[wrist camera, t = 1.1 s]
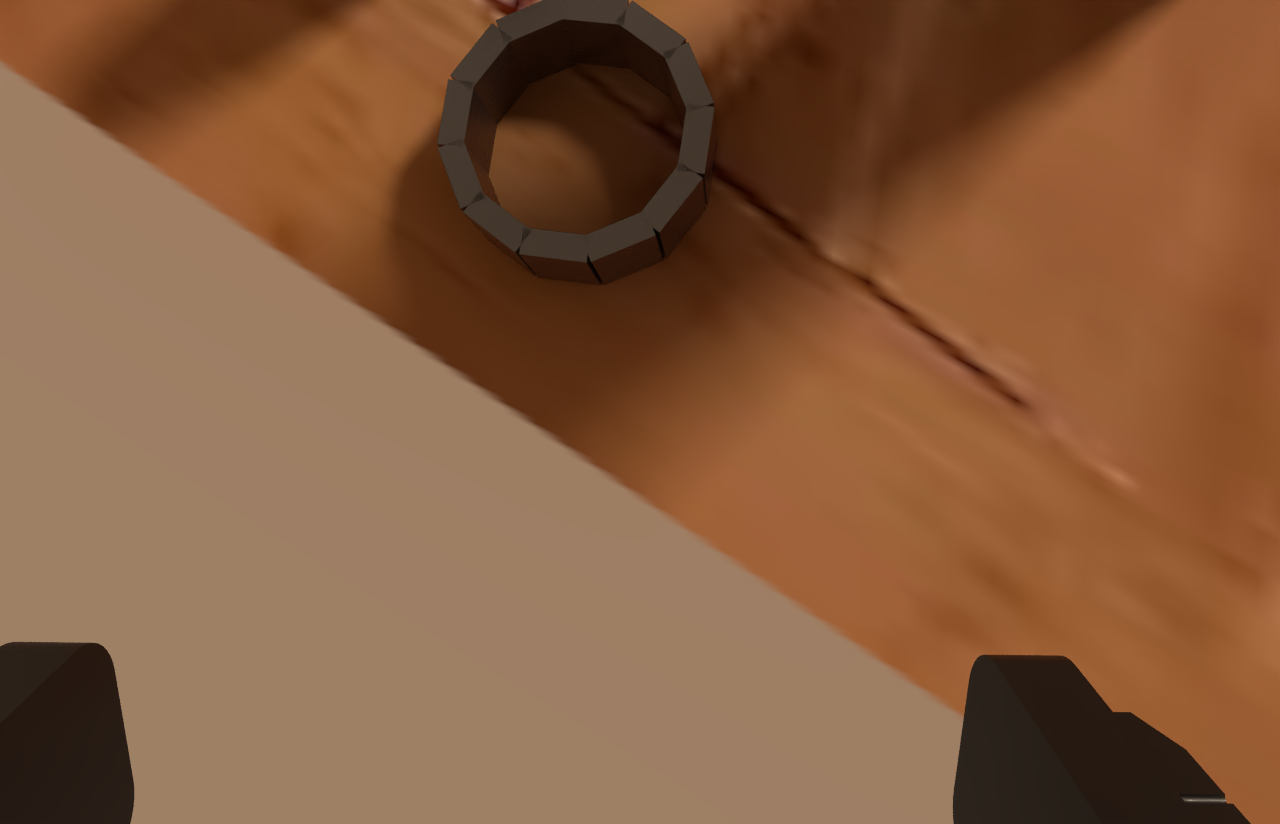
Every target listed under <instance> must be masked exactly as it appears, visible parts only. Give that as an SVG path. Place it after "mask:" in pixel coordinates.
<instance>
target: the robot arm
mask: <svg viewBox="0 0 1280 824" xmlns="http://www.w3.org/2000/svg"><path fill="white" fill-rule="evenodd" d="M133 804H134V782H133V776H132V770H131V764H130V758H129V752H128V746H127V740H126V734H125V729H124V722H123V717H122V711H121V705H120V699H119V693H118V687H117V681H116V676H115V670H114V665H113V662H112V659H111V657H110V655H109V653H108V651H107V650H106V649H105V648H104V647H103V646H102V645H100V644H97V643H60V642H59V643H58V642H56V643H55V642H11V643H7V644H5V645H2V646H0V824H130V822H131V818H132V812H133V806H134V805H133ZM953 820H954V824H1250V823H1249V821H1248V820H1247V819H1246V818H1245V817H1244V816H1243V815H1242V813H1241V812H1240V811H1239V810H1238V809H1237V808H1236V807H1235V805H1234V804H1227V803H1226V801H1225V794H1224V793H1223V792H1222V790H1221V789H1220V788H1219V787H1218V786H1217V785H1216V784H1215V782H1214V781H1213V780H1212V779H1211V778H1210V777H1209V776H1208V774H1207V773H1206V772H1205V771H1204V770H1203V769H1202V768H1201V766H1200V765H1199V764H1198V763H1197V762H1196V761H1195V760H1194V758H1193V757H1192V756H1191V755H1190V754H1189V753H1188V752H1187V750H1186V749H1184V748H1183V747H1181V746H1180V745H1178V744H1177V743H1175V742H1174V741H1172V740H1171V739H1169V738H1168V737H1166V736H1165V735H1163V734H1162V733H1160V732H1159V731H1157V730H1156V729H1154V728H1153V727H1151V726H1150V725H1148V724H1147V723H1145V722H1144V721H1143V720H1141V719H1140V718H1138V717H1137V716H1135V715H1134V714H1132V713H1131V712H1112V710H1111V709H1110V708H1109V707H1108V705H1107V704H1106V703H1105V702H1104V700H1103V699H1102V698H1101V697H1100V695H1099V694H1098V693H1097V692H1096V691H1095V689H1094V688H1093V687H1092V686H1091V684H1090V683H1089V682H1088V681H1087V679H1086V678H1085V677H1084V676H1083V674H1082V673H1081V672H1080V671H1079V669H1078V668H1077V667H1076V666H1075V664H1074V663H1073V662H1072V661H1071V660H1069V659H1068V658H1066V657H1064V656H1043V655H981V656H979V657H978V658H977V659H976V661H975V662H974V664H973V667H972V670H971V673H970V679H969V685H968V692H967V699H966V707H965V714H964V721H963V728H962V736H961V743H960V750H959V758H958V765H957V772H956V780H955V786H954V796H953Z"/></svg>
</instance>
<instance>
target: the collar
mask: <svg viewBox="0 0 1280 824" xmlns="http://www.w3.org/2000/svg"><path fill="white" fill-rule="evenodd" d="M496 22H497V25H498V27H499V28H498V27H497V26H495V25H494V24H491V25H490V26H489V28H488V29H487V30H486V31H485V33H484V34H483V35H482V36H481V38H480V39H479V40H478V41H477V43H476V44H475V45H474V46H473V48H472V49H471V50H470V51H469V53H468V54H467V55H466V56H465V58H464V59H463V60H462V61H461V63H460V64H459V65H458V66H457V68H456V69H455V70H454V71H453V73H452V74H451V75H450V76H451V77H452V79H453V80H449V79H448V85H447V90H446V96H445V102H444V108H443V113H442V119H441V125H440V131H439V136H438V142H437V144H438V145H439V148H438V151H439V153H440V156H441V159H442V161H443V164H444V166H445V169H446V172H447V174H448V177H449V180H450V182H451V185H452V188H453V190H454V193H455V196H456V198H457V201H458V204H459V206H460V209H461V210H462V211H463V213H464V214H465V215H466V216H467V217H468V218H469V219H470V220H471V221H472V222H473V224H474V225H475V226H476V227H477V228H478V229H479V230H480V231H481V232H482V233H483V234H484V236H485V237H486V238H487V239H488V240H490V241H491V242H492V243H493V244H495V245H496V246H497V247H499V248H500V249H501V250H502V251H504V252H505V253H506V254H508V255H509V256H510V257H511V258H513V259H514V260H515V261H517V262H518V263H519V264H520V265H522V266H523V267H524V268H526V269H527V270H528V271H529V272H531V273H532V274H533V275H537V276H538V277H540V278H548V279H556V280H563V281H571V282H579V283H587V284H595V285H600V283H601V280H602V281H603V283H604V285H605V284H607V283H609V282H612V281H614V280H617V279H619V278H622V277H624V276H626V275H629V274H631V273H634V272H636V271H639V270H641V269H644V268H646V267H648V266H651V265H653V264H656V263H658V262H661V261H663V259H662V256H661V254H662V255H663V256H665V257H666V258H667V257H668V255H669V254H670V253H671V252H672V250H673V249H674V248H675V246H676V245H677V244H678V243H679V241H680V240H681V239H682V238H683V236H684V235H685V234H686V233H687V231H688V230H689V229H690V228H691V226H692V225H693V224H694V223H695V221H696V220H697V219H698V218H699V216H700V215H701V214H702V213H703V211H704V210H705V209H706V207H705V204H708V197H709V190H710V184H711V177H712V170H713V163H714V157H715V150H716V127H715V107H714V101H713V99H712V97H711V94H710V92H709V90H708V87H707V85H706V83H705V80H704V78H703V75H702V73H701V71H700V68H699V66H698V64H697V61H696V59H695V57H694V54H693V52H692V49H691V47H690V45H689V42H687V43H686V39H685V38H684V37H683V36H681V35H680V34H678V33H677V32H676V31H674V30H673V29H671V28H670V27H669V26H667V25H666V24H664V23H663V22H662V21H660V20H659V19H657V18H656V17H655V16H653V15H652V14H650V13H649V12H647V11H646V10H645V9H643V8H642V7H640V6H639V5H638V4H636V3H635V2H633V1H632V2H631V3H630V4H629V1H628V0H561V1H560V0H542V1H540V2H537V3H535V4H533V5H530V6H528V7H526V8H523V9H521V10H519V11H516V12H514V13H512V14H510V15H507V16H505V17H503V18H500V19H498V20H496ZM577 63H583V64H593V65H604V66H614V67H624V68H630V69H632V70H633V71H634V72H636V73H637V74H639V75H640V76H641V77H643V78H644V79H645V80H647V81H648V82H650V83H651V84H652V85H654V86H655V87H656V88H658V89H659V90H661V91H662V92H663V93H665V94H666V95H668V96H669V97H670V98H671V99H672V101H673V104H674V106H675V109H676V111H677V113H678V116H679V118H680V121H681V123H682V125H683V135H682V141H681V148H680V154H679V161H678V166H677V167H676V169H675V170H674V171H673V172H672V174H671V175H670V176H669V177H668V179H667V180H666V181H665V182H664V184H663V185H662V186H661V187H660V189H659V190H658V191H657V193H656V194H655V195H654V196H653V198H652V199H651V200H650V201H649V203H648V204H647V205H646V206H645V208H644V209H643V210H642V211H641V212H640V213H638V214H635V215H633V216H630V217H628V218H626V219H623V220H621V221H618V222H616V223H614V224H611V225H609V226H606V227H604V228H602V229H599V230H597V231H594V232H592V233H589V234H587V235H582V234H573V233H565V232H557V231H549V230H540V229H532V228H528V227H526V226H525V225H524V224H522V223H521V222H520V221H518V220H517V219H516V218H515V217H513V216H512V215H511V214H509V213H508V212H507V211H505V210H504V209H503V208H502V207H500V204H499V201H498V199H497V196H496V194H495V191H494V188H493V186H492V183H491V181H490V178H489V175H488V174H489V168H490V162H491V156H492V150H493V144H494V138H495V133H496V127H497V124H498V122H499V121H500V120H501V119H502V117H503V116H504V115H505V114H506V112H507V111H508V110H509V109H510V107H511V106H512V105H513V104H514V102H515V101H516V100H517V99H518V97H519V96H520V95H521V94H522V92H523V91H524V90H525V89H526V87H527V86H528V85H529V84H530V83H532V82H534V81H537V80H539V79H541V78H544V77H546V76H549V75H551V74H553V73H556V72H558V71H560V70H563V69H565V68H567V67H570V66H572V65H574V64H577Z"/></svg>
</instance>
